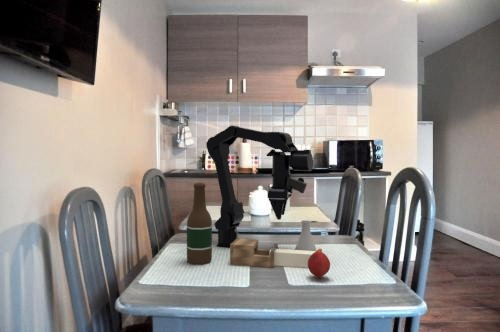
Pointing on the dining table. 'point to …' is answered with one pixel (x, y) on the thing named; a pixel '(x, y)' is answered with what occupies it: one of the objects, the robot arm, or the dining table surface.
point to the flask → (305, 238)
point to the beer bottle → (199, 229)
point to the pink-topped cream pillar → (291, 257)
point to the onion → (318, 263)
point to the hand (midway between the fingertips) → (280, 217)
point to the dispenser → (250, 253)
